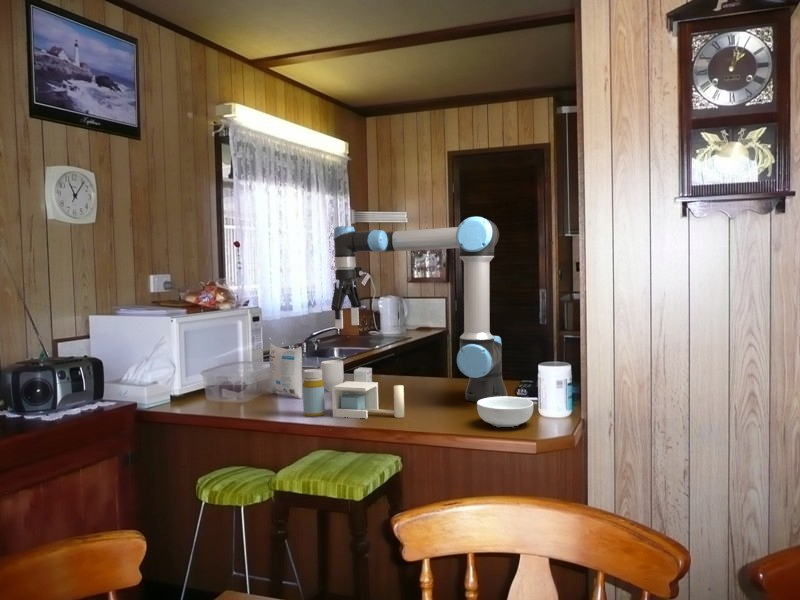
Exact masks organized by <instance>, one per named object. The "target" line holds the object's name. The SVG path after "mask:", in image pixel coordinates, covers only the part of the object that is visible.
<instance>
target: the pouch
mask: <svg viewBox="0 0 800 600" xmlns="http://www.w3.org/2000/svg"><path fill="white" fill-rule="evenodd" d="M269 392H270V394H271V395H272V394H274V393H286V394H289V395H292V396H295V398H298V399H300V400H303V350H302V346H298V347H296V348H284V347H279V346H276V345H275V344H273V343H270V344H269Z"/></svg>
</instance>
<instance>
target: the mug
mask: <svg viewBox="0 0 800 600" xmlns="http://www.w3.org/2000/svg"><path fill="white" fill-rule="evenodd" d="M318 369H321V370H322V380H323V383H324V388H325V389H326V391H327V392H329V393H332V390H333V387H334V386H336V385H339V384H341V383H344V377H345V376H344V360H340V359H339V360H338V359H335V360H334V359H331V360H323V361H321V362H320V367H319V368H318Z"/></svg>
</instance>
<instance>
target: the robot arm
mask: <svg viewBox="0 0 800 600" xmlns="http://www.w3.org/2000/svg"><path fill="white" fill-rule="evenodd" d="M499 237H500V233H499V228H498V226H497V225H496V224H495V222H493V221H491V220H490V219H487V218H484V217H482V216H470V217H467V218H466V219H464V220H463V221H462V222H461V223H460V224H459V225H458V226H456V227H455V226H453V227H443V228H442V227H440V228H426V229H425V228H424V229H411V230H398V231H395V230H394V231H385V230H381V229H380V230H379V229H373V230H361V231H357V230H355V227H354V226H352V225H349V226H348V225H346V226H345V225H343V226H342V225H341V226H336V227H335V228H334V231H333V244H334V246H333V247H334V261H333V262H334V268H335V271H334V273H335V274H334V276H335V277H334V279H335V280H337V281H338V282H335V283H334V291H333V296H332V301H331V306H330V307H331V311H334V324H335V325H334V326H335V329H339V330H340V329H341V330H342V329H344V316H343V314H344V313H343V312H344V311H343V309H342V308H343V305H344V301H345V299H346V296H347V297H348V300H349V303H350V305H351V307H350V316H351V318H350V319H351V320H350V321H351V326H359V325H360V319H359V318H360V316H359V315H360V314H359V308H361V307H362V302H361V298H360V294H359V293H360V292H359V289H358V282H357V281H354V280H356V278H357V270H356V269H355V268H357V267H356V266H357V261H356V253H363V252H364V253H367V252H369V253H371V252H374V253H390V252H393V253H394V252H405V251H406V252H407V251H425V250H426V251H427V250H445V249H459V258H460V260H462V261H463V291H464V292H463V304H464V305H463V308H464V309H463V313H464V314H463V315H464V317H463V318H464V319H463V320H464V322H463V325H464V326H463V329H464V330H463V333H462V334H461V335H460V336H459V351H458V352H457V354H456V355H457V356H456V364H457V365H456V366H457V367H458V369H459V371H460V372H461V373H462V374H463V375H465V376H466V377H468V378H469V379H468V383H467V387H466V389H465V391H464V393H465V396H464V397H465V400H466V401H469V402H475V403H477V402H478V401H479V400H481V399H484V398H489V397H500V396H508V391H507V388H506V384H505V382H504V379H503V370H502V369H503V367H502V366H503V363H502V362H503V361H502V357H503V356H502V346H503V344H502V338H501V337H500V336H499V335H493V334H491V332H490V329H491V328H490V325H491V324H490V310H491V309H490V262H491V261H492V260H493V258H495V246H496V245H497V243H498V242H499Z"/></svg>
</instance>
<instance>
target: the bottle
mask: <svg viewBox="0 0 800 600" xmlns="http://www.w3.org/2000/svg"><path fill="white" fill-rule="evenodd" d="M302 400H303V402H302V403H303V404H302V405H303V406H302V407H303V415H304V416H305V417H307V418H317V417H322V416H324V414H325V411H326V409H325V407H326V406H325V385H324V383H323V380H322V370H321V369H319V368H311V369H305V370H303V381H302Z"/></svg>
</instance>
